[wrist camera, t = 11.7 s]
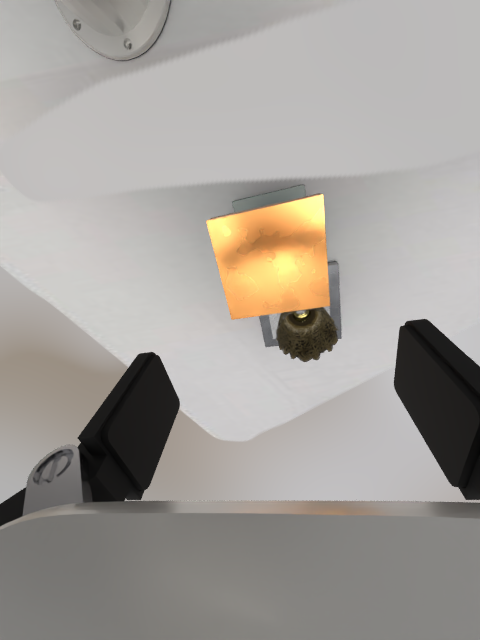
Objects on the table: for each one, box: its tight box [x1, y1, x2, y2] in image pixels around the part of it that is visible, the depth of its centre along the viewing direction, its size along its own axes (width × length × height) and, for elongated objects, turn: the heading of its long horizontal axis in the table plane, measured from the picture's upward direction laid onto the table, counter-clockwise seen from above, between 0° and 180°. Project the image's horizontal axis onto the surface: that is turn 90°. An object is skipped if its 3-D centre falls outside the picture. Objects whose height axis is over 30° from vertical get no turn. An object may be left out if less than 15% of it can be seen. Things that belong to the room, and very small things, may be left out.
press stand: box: [232, 185, 305, 213], centre depth 29 cm, size 9×9×12 cm
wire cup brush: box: [276, 307, 338, 362], centre depth 34 cm, size 8×7×8 cm
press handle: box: [206, 194, 330, 320], centre depth 24 cm, size 8×8×12 cm
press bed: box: [259, 261, 341, 347], centre depth 39 cm, size 12×12×2 cm
